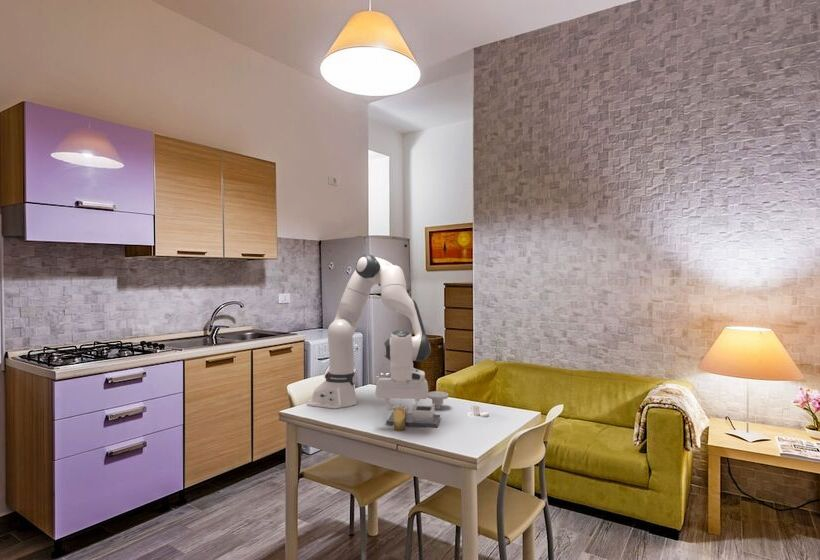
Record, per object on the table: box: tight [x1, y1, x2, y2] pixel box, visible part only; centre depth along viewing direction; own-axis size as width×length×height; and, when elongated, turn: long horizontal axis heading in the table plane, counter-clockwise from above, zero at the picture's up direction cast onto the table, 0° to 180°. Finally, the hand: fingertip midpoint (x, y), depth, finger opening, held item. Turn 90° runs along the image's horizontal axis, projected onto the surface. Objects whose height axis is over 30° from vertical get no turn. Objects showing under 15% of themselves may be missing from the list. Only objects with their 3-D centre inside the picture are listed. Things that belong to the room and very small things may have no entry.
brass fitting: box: [392, 406, 406, 432], centre depth 174 cm, size 4×4×8 cm
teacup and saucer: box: [466, 404, 489, 419], centre depth 193 cm, size 9×8×4 cm
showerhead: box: [427, 390, 449, 410], centre depth 203 cm, size 9×7×10 cm
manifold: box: [385, 404, 441, 429], centre depth 184 cm, size 20×12×6 cm, turn 80°
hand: (402, 409), depth 175 cm, fingers open, 8 cm apart
